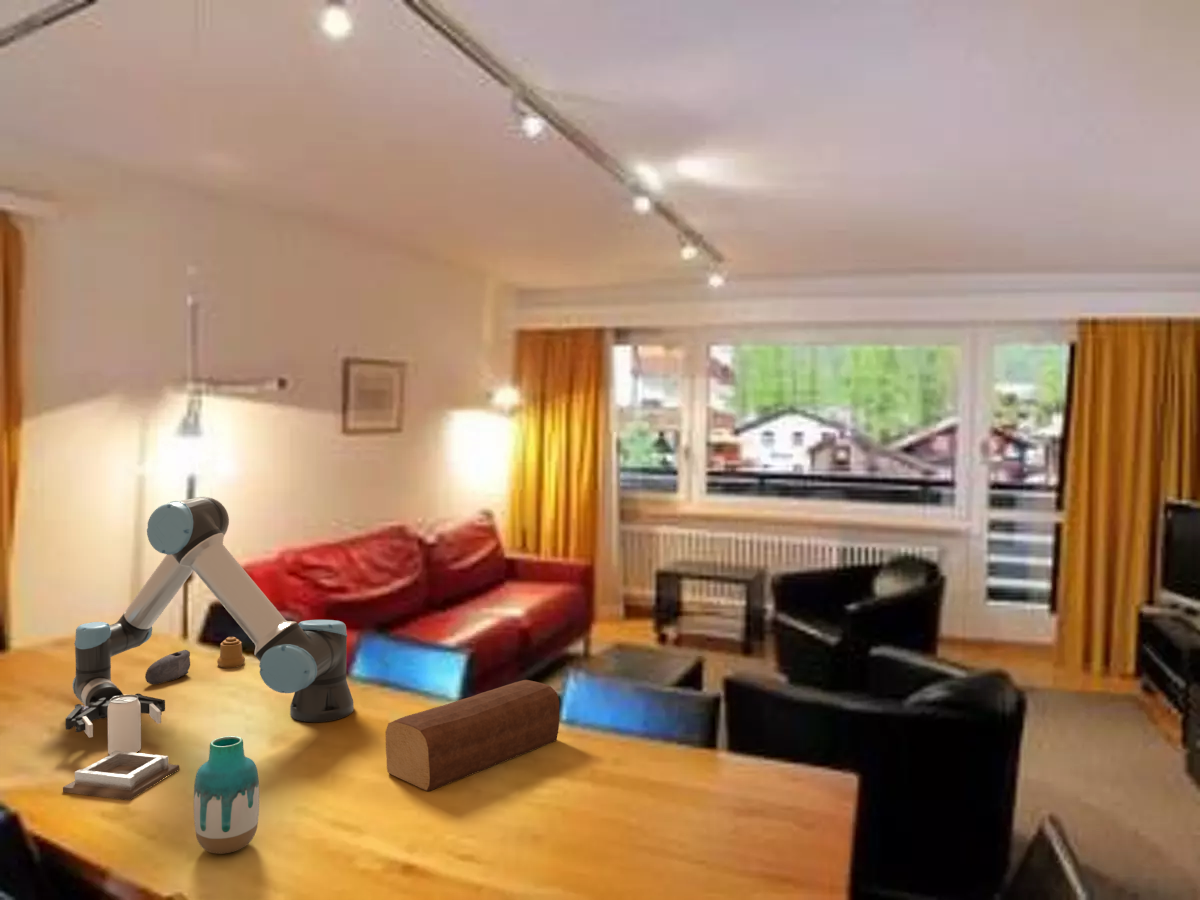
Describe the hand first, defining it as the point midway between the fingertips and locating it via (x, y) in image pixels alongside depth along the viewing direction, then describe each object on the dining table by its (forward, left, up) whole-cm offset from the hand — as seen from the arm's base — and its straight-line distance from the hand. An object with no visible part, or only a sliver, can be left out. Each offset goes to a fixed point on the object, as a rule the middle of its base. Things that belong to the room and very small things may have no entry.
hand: (125, 724), depth 202 cm
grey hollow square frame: (-9, +12, -7) cm, 16 cm away
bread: (-74, -18, -7) cm, 77 cm away
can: (+1, -1, -7) cm, 7 cm away
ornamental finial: (+17, -65, -7) cm, 68 cm away
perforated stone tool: (+25, -48, -7) cm, 55 cm away
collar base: (-9, +12, -7) cm, 16 cm away
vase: (-46, +32, -7) cm, 56 cm away
